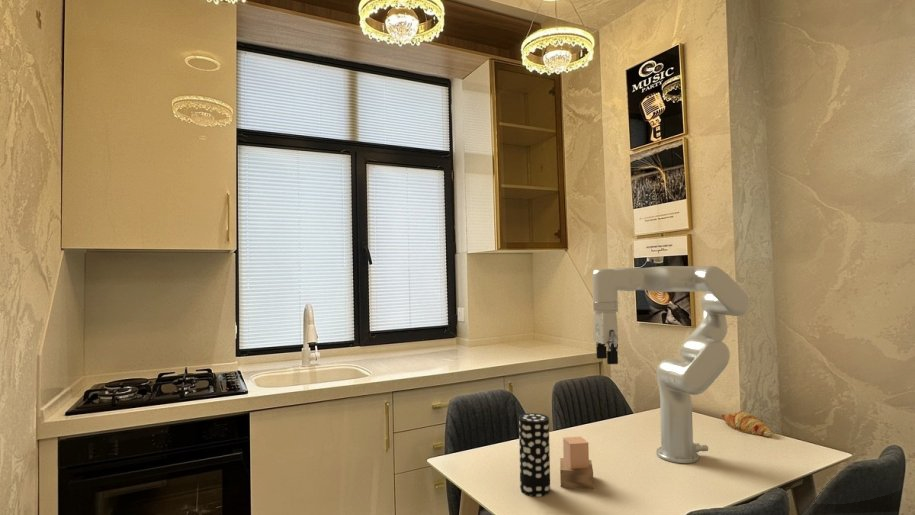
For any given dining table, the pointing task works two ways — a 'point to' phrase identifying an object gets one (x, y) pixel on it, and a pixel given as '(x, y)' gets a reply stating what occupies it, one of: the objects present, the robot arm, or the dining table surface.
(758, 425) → the croissant
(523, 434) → the white-spotted black cylinder
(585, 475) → the walnut block
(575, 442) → the peach matte cube
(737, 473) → the dining table surface
